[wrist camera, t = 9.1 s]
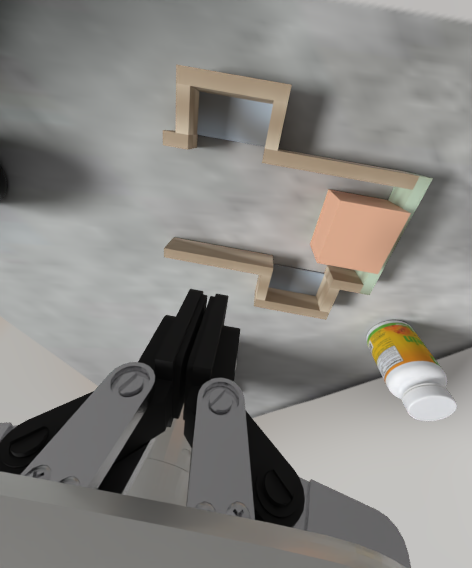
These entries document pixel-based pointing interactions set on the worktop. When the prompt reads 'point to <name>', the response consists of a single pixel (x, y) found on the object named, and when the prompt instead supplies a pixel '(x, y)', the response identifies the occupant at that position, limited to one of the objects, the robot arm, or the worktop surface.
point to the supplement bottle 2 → (410, 371)
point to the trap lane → (266, 132)
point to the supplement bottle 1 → (2, 184)
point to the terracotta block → (356, 231)
